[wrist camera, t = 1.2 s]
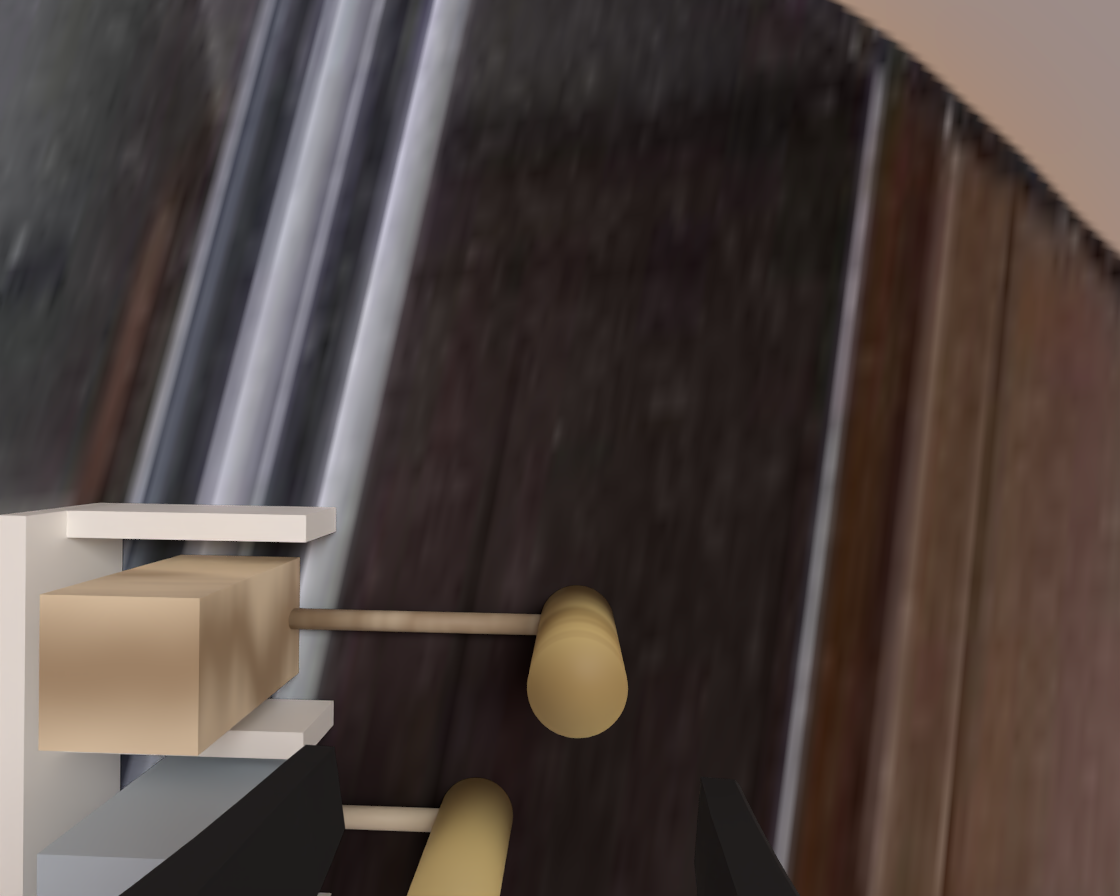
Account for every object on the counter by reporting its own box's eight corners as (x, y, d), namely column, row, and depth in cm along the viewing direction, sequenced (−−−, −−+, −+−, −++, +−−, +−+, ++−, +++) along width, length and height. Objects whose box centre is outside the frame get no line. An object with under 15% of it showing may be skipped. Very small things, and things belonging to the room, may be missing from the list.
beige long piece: (612, 681, 22) (626, 769, 16) (180, 669, 23) (38, 750, 17) (614, 564, 22) (629, 608, 16) (181, 554, 23) (39, 594, 17)
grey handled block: (512, 873, 22) (488, 1031, 16) (178, 860, 23) (35, 1009, 17) (513, 757, 22) (490, 872, 16) (179, 745, 23) (36, 854, 17)
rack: (330, 917, 23) (278, 1019, 19) (95, 907, 23) (-7, 1006, 19) (336, 507, 22) (284, 520, 18) (99, 502, 23) (-2, 515, 19)
